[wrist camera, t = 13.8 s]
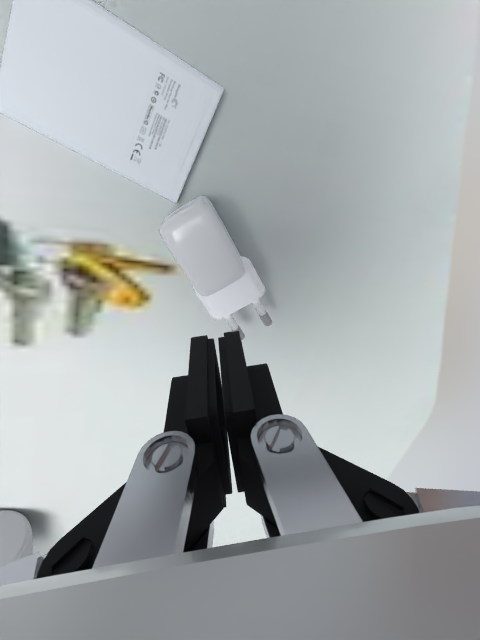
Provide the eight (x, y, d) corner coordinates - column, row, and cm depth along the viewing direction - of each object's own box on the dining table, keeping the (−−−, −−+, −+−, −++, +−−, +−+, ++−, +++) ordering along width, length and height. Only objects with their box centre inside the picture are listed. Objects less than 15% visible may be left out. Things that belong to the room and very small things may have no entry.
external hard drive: (35, -32, 19) (223, 92, 22) (6, 113, 22) (177, 202, 25) (20, -49, 17) (225, 86, 21) (-9, 109, 20) (175, 204, 24)
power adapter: (273, 302, 29) (288, 332, 24) (227, 327, 30) (232, 361, 25) (211, 187, 24) (212, 193, 19) (157, 219, 25) (145, 234, 20)
